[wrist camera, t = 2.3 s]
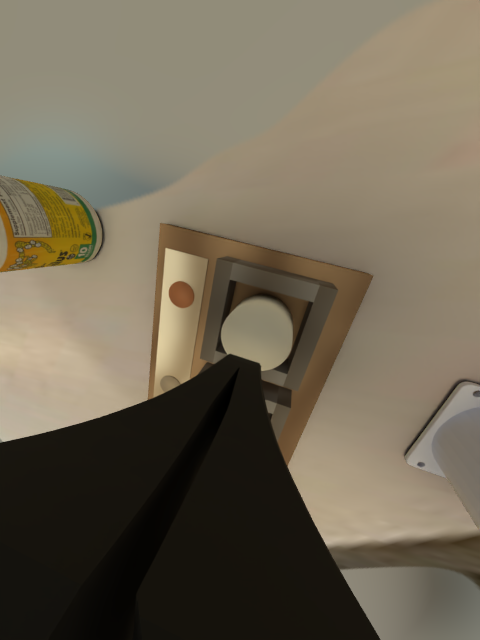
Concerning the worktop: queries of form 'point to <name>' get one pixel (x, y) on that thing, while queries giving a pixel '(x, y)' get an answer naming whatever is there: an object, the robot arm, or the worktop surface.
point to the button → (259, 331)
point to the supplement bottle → (45, 226)
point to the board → (224, 296)
